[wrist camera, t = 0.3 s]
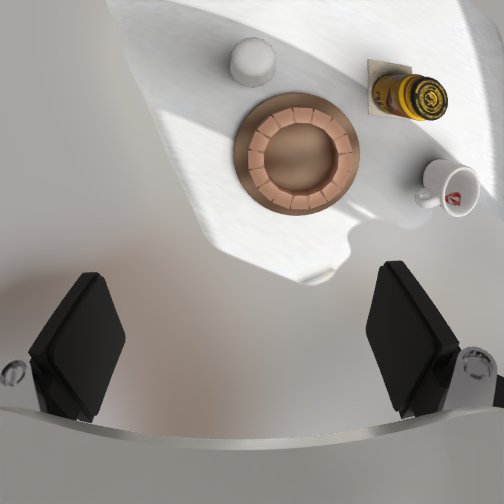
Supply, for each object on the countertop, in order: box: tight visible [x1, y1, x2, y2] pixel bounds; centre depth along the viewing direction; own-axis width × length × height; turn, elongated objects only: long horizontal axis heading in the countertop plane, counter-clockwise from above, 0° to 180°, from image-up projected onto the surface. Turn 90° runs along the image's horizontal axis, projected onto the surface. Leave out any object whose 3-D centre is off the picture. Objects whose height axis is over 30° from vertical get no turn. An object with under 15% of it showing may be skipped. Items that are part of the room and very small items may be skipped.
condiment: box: [368, 59, 448, 121], centre depth 30 cm, size 7×8×12 cm
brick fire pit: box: [234, 93, 360, 216], centre depth 40 cm, size 18×18×4 cm
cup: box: [414, 159, 480, 217], centre depth 39 cm, size 11×8×8 cm
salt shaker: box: [230, 37, 276, 88], centre depth 29 cm, size 6×6×13 cm
